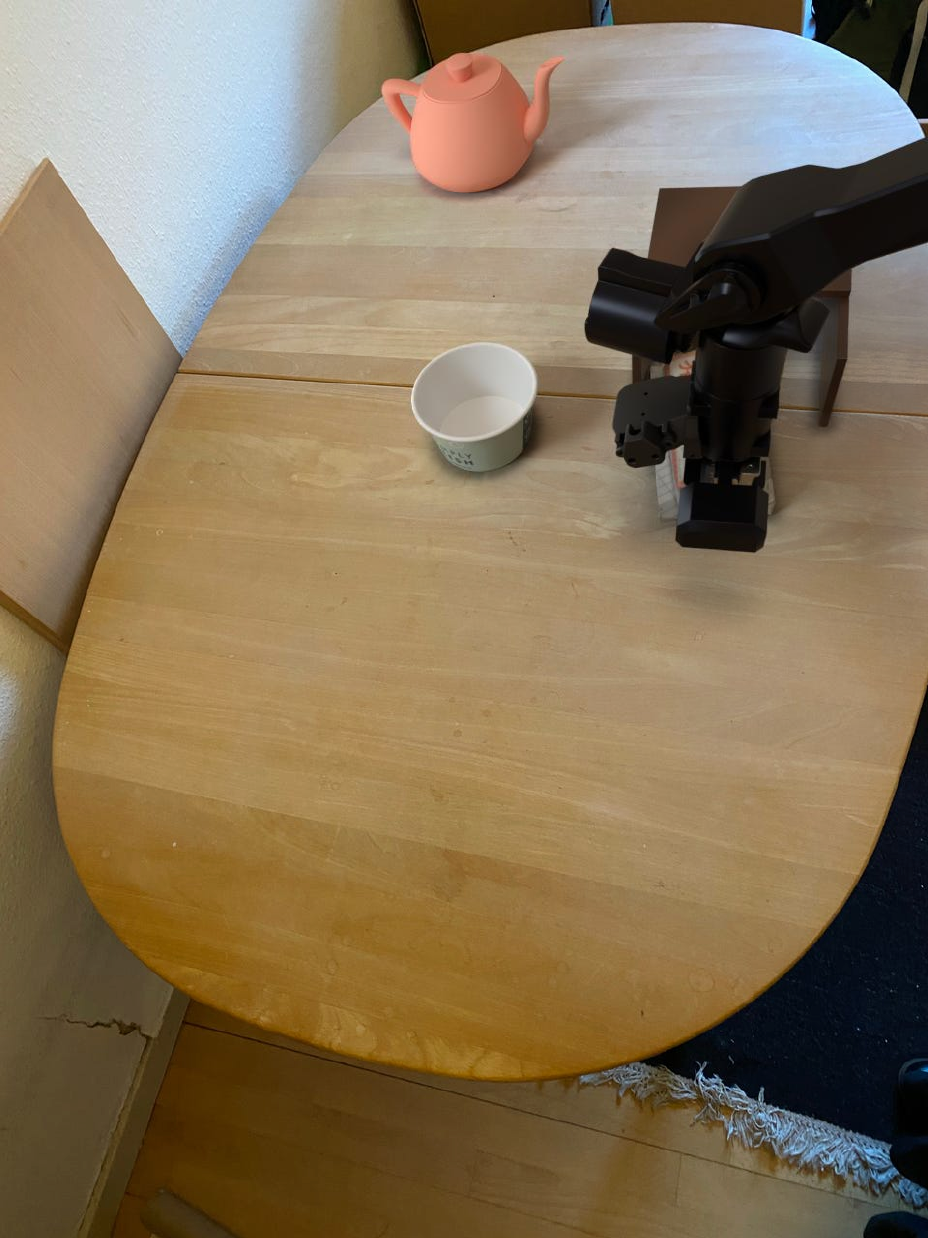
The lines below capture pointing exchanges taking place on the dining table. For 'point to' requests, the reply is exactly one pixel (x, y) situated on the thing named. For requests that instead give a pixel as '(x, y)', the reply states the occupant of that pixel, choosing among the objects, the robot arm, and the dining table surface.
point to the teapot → (471, 120)
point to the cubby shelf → (686, 225)
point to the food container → (477, 404)
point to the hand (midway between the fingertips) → (717, 504)
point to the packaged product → (673, 466)
